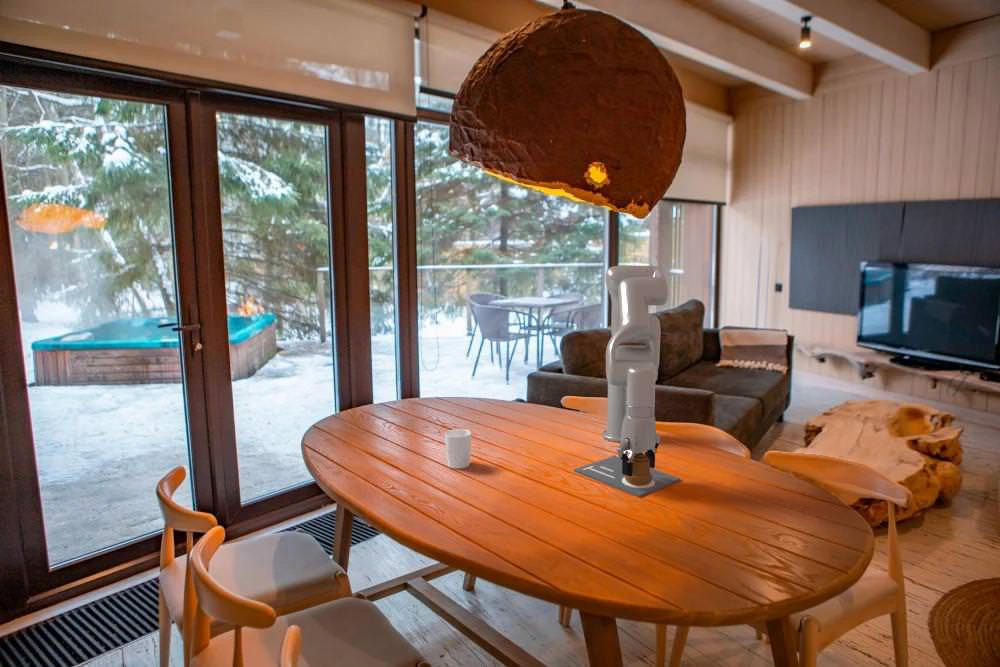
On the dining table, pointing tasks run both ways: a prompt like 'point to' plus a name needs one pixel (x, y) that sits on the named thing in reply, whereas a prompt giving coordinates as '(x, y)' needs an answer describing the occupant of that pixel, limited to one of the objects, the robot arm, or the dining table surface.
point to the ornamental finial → (640, 470)
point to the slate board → (612, 476)
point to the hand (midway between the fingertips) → (638, 470)
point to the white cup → (458, 448)
